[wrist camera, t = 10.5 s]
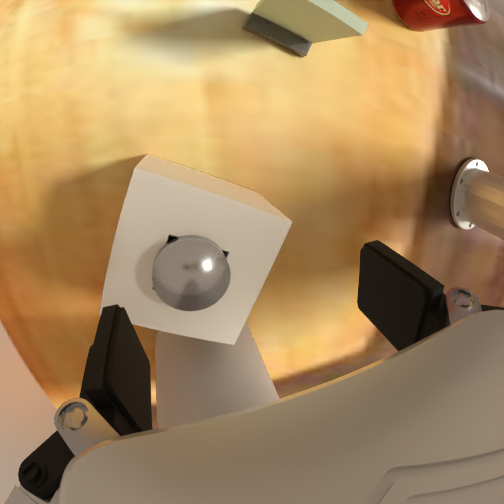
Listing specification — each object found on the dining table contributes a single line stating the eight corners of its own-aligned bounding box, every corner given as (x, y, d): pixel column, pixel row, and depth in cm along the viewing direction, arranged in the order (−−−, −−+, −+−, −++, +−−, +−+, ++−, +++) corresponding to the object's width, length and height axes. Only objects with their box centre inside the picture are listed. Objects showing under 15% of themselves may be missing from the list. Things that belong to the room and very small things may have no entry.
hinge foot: (308, 43, 25) (312, 41, 24) (302, 57, 26) (305, 55, 25) (250, 14, 23) (252, 11, 22) (242, 28, 23) (244, 25, 22)
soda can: (388, 17, 25) (457, 0, 15) (389, -20, 22) (451, -42, 12) (425, 40, 27) (492, 35, 17) (426, 3, 25) (487, -8, 14)
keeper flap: (317, 34, 24) (368, 24, 16) (313, 43, 24) (362, 35, 16) (257, 3, 21) (287, -26, 13) (252, 12, 22) (280, -15, 13)
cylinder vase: (143, 360, 36) (155, 542, 14) (176, 287, 33) (210, 512, 11) (224, 380, 41) (274, 535, 19) (266, 317, 38) (357, 489, 16)
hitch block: (256, 192, 31) (292, 221, 22) (216, 288, 34) (234, 344, 26) (147, 154, 26) (134, 167, 18) (115, 261, 30) (98, 315, 21)
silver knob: (219, 212, 30) (242, 254, 21) (200, 260, 31) (215, 317, 22) (166, 195, 28) (164, 231, 19) (150, 246, 29) (144, 301, 20)
